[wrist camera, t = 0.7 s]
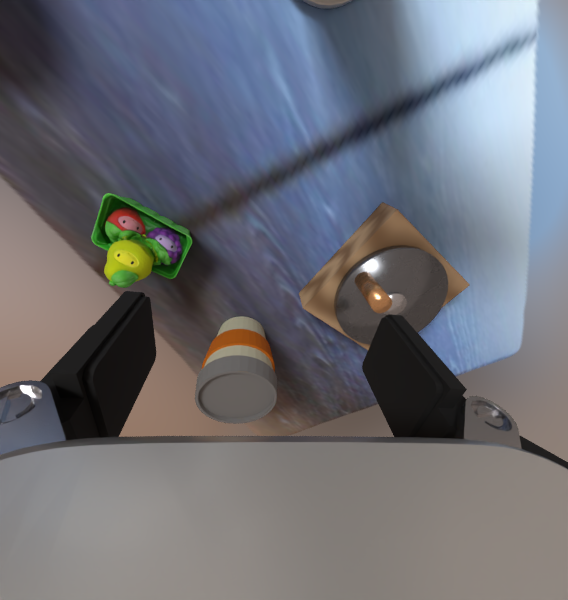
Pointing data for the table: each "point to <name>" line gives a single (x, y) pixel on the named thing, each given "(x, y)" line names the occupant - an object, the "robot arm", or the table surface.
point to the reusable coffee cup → (237, 374)
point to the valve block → (367, 239)
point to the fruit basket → (138, 241)
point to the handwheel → (390, 290)
